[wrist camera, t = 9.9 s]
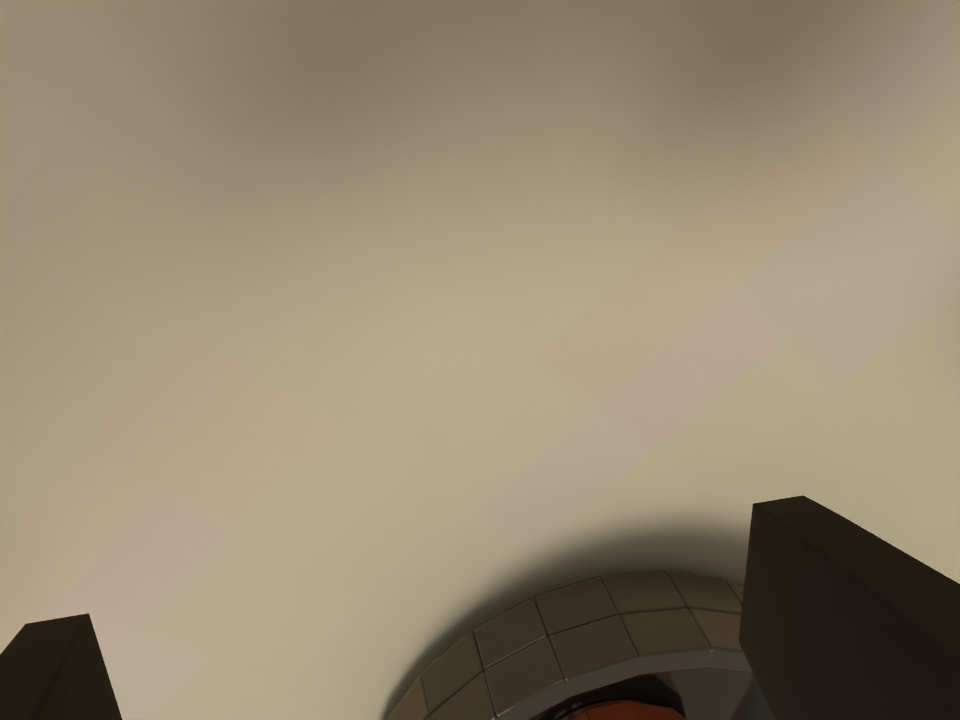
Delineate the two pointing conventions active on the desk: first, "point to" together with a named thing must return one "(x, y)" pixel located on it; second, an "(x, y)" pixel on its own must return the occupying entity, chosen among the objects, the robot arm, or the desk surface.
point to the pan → (599, 654)
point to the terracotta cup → (624, 711)
